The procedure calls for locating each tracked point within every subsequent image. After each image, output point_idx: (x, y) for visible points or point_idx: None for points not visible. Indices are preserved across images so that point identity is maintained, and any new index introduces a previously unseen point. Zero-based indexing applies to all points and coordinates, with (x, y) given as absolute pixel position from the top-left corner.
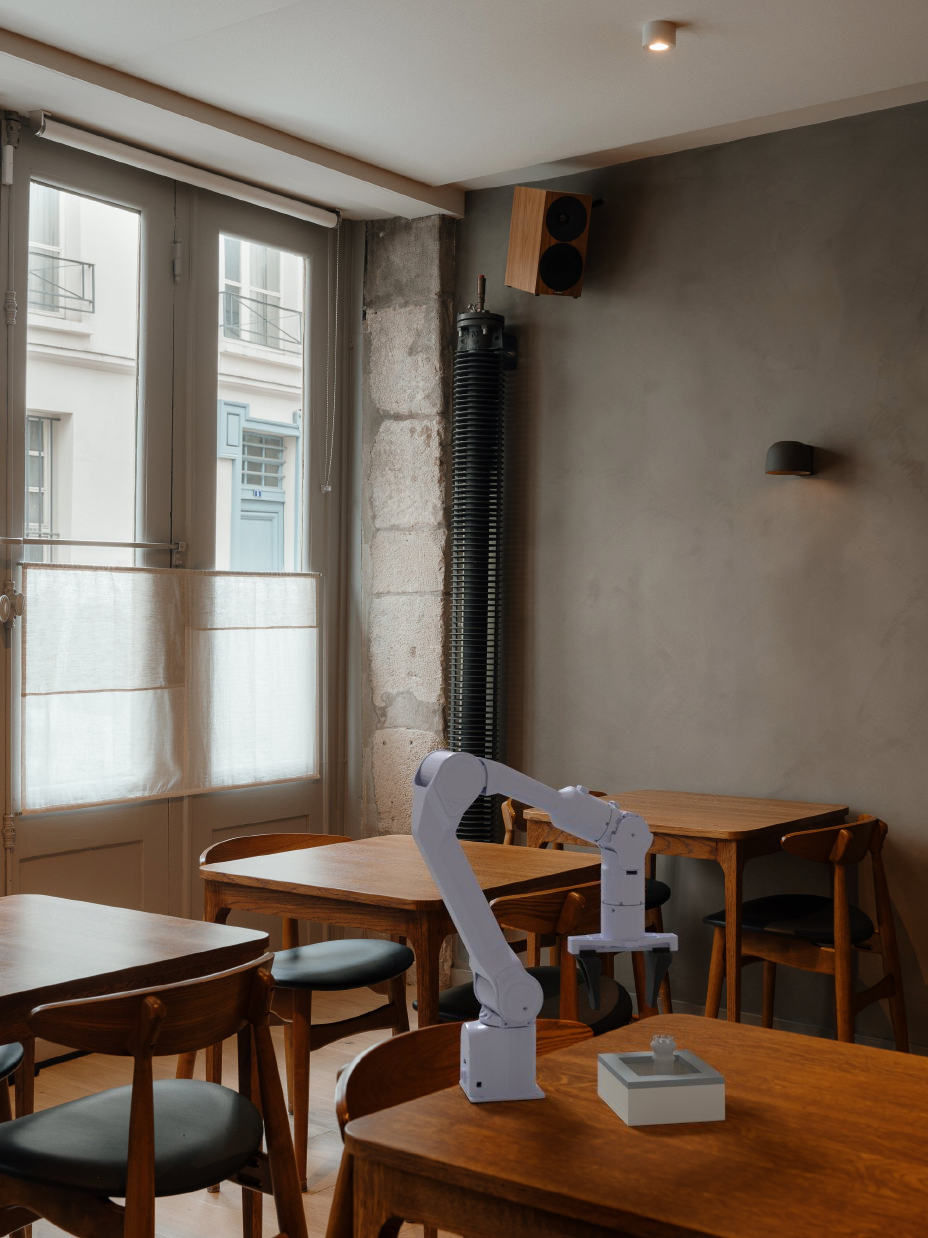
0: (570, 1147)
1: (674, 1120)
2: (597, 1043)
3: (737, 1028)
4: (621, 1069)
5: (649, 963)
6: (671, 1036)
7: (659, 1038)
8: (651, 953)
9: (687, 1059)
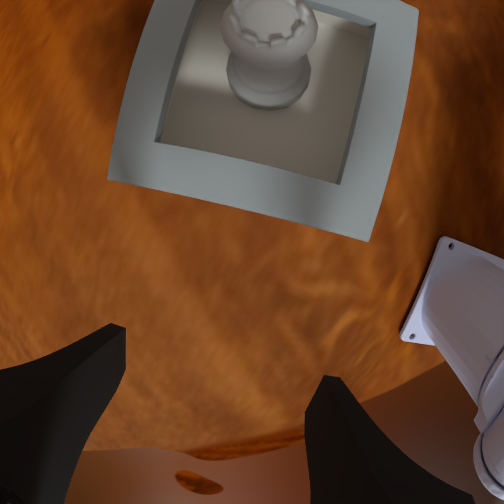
0: (489, 37)
1: None
2: (179, 436)
3: None
4: (391, 86)
5: (48, 466)
6: (230, 14)
7: (265, 45)
8: (15, 492)
9: (158, 91)
